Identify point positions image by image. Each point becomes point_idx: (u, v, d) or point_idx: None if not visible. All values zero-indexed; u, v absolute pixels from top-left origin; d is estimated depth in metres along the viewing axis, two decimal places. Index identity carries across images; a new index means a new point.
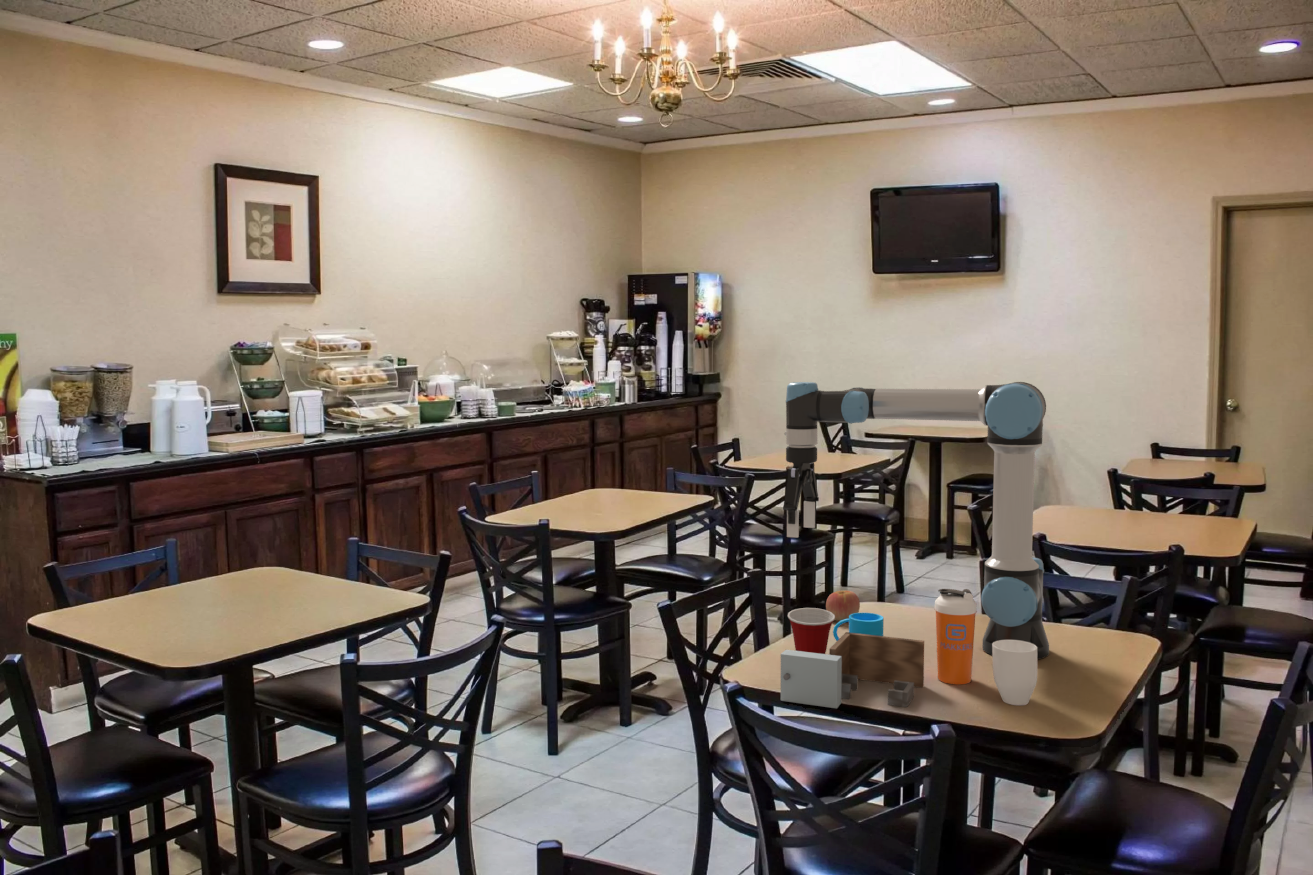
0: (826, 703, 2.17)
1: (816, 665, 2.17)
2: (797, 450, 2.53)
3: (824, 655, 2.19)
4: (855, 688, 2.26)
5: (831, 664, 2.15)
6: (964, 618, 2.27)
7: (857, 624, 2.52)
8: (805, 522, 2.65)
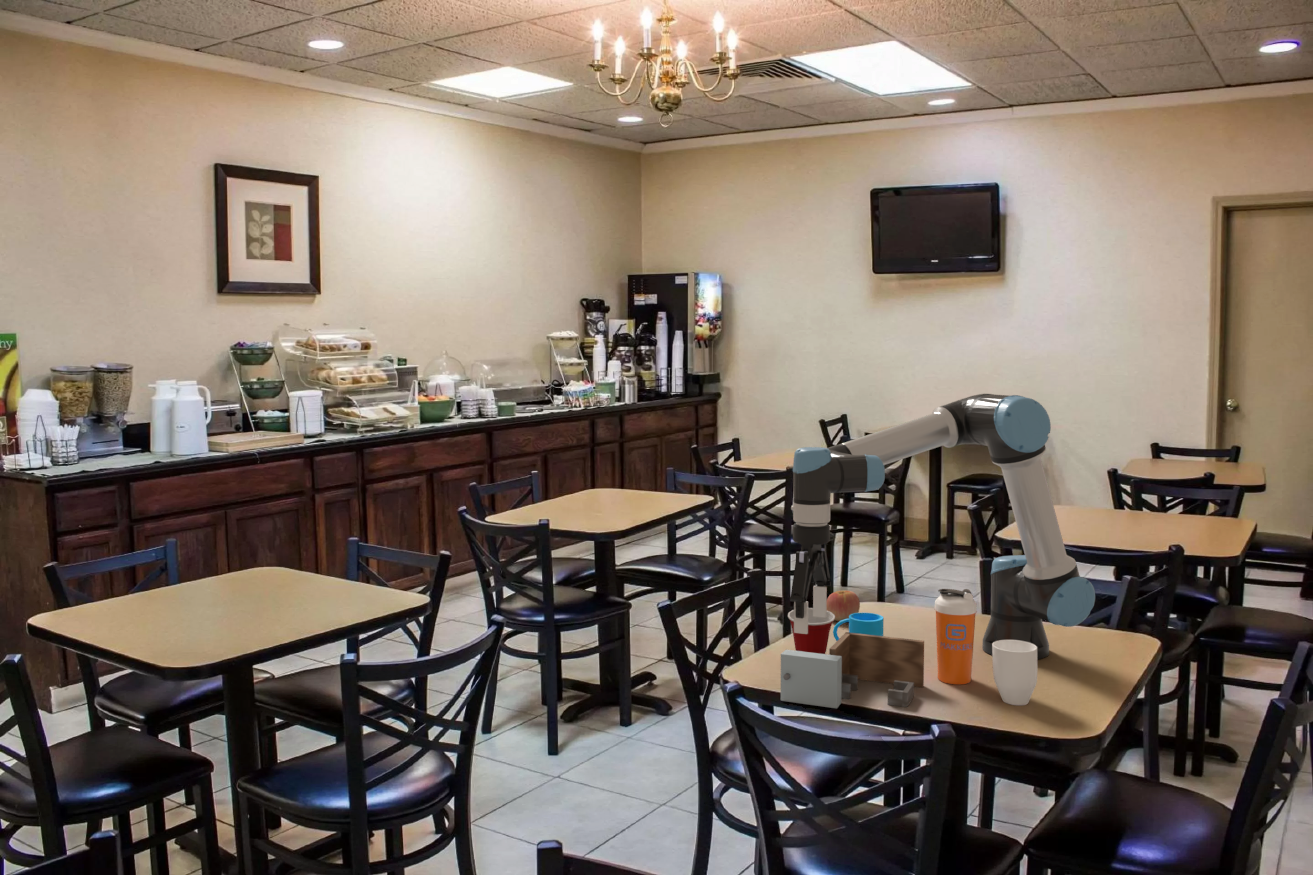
0: (826, 703, 2.17)
1: (817, 665, 2.17)
2: (807, 529, 2.13)
3: (824, 655, 2.18)
4: (855, 688, 2.26)
5: (831, 664, 2.15)
6: (964, 618, 2.27)
7: (857, 624, 2.52)
8: (815, 610, 2.24)
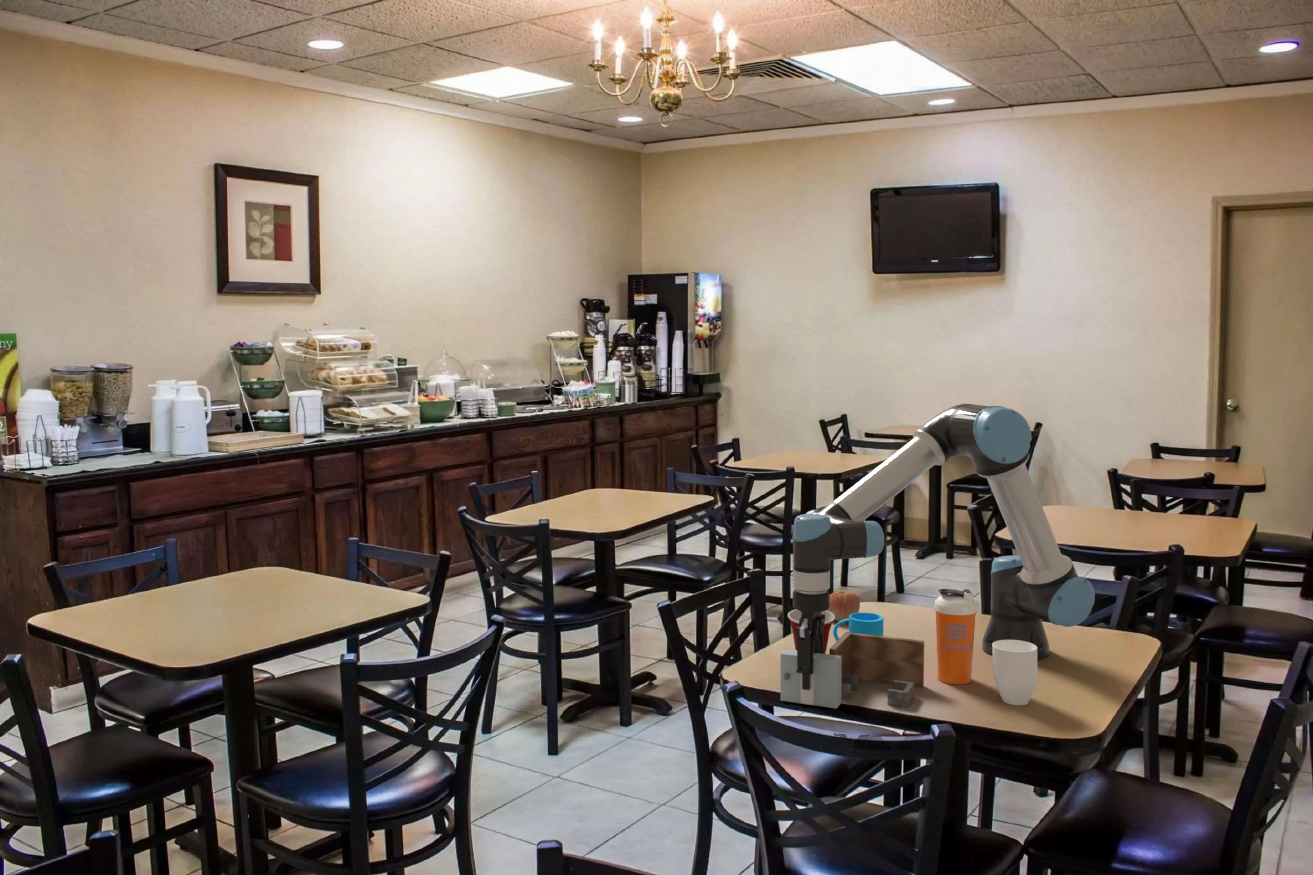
0: (826, 703, 2.17)
1: (816, 664, 2.17)
2: (806, 597, 2.14)
3: (824, 655, 2.18)
4: (855, 688, 2.26)
5: (831, 664, 2.15)
6: (964, 618, 2.27)
7: (857, 624, 2.52)
8: None
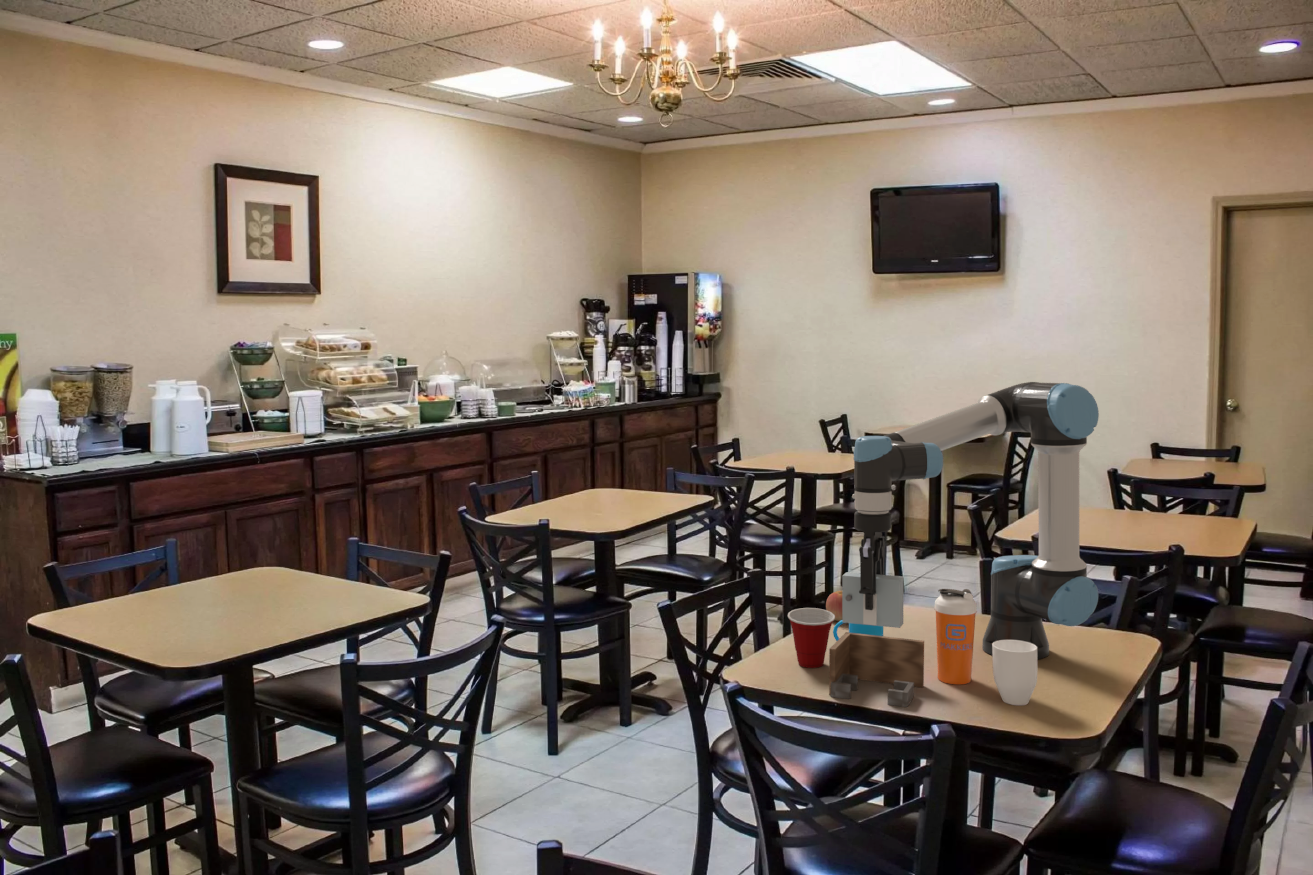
0: (889, 623, 2.18)
1: (879, 585, 2.18)
2: (869, 517, 2.15)
3: (886, 576, 2.20)
4: (855, 688, 2.26)
5: (894, 584, 2.16)
6: (964, 618, 2.27)
7: (857, 624, 2.52)
8: None
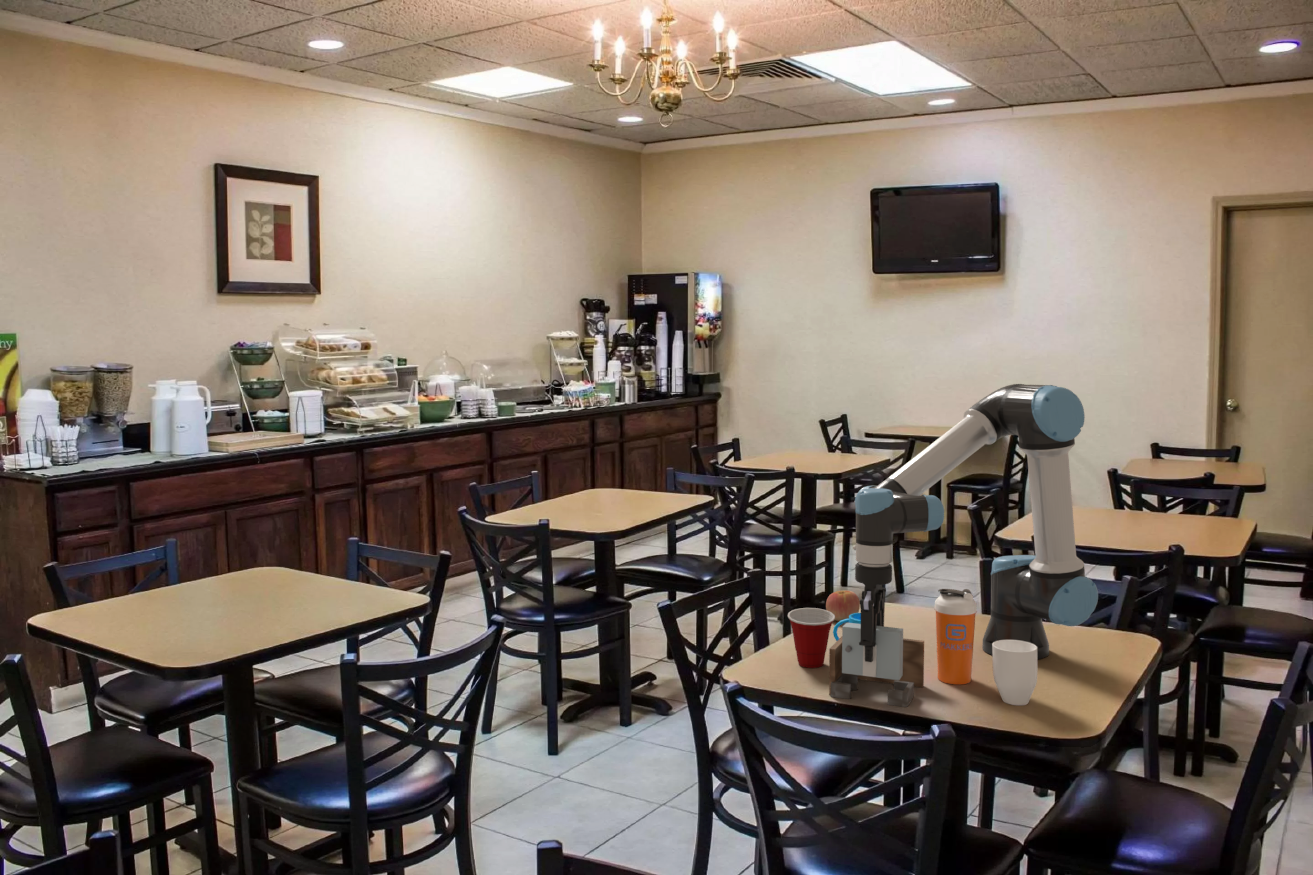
0: (888, 675, 2.19)
1: (879, 637, 2.19)
2: (870, 570, 2.16)
3: (886, 627, 2.21)
4: (855, 688, 2.26)
5: (893, 636, 2.17)
6: (964, 618, 2.27)
7: None
8: None
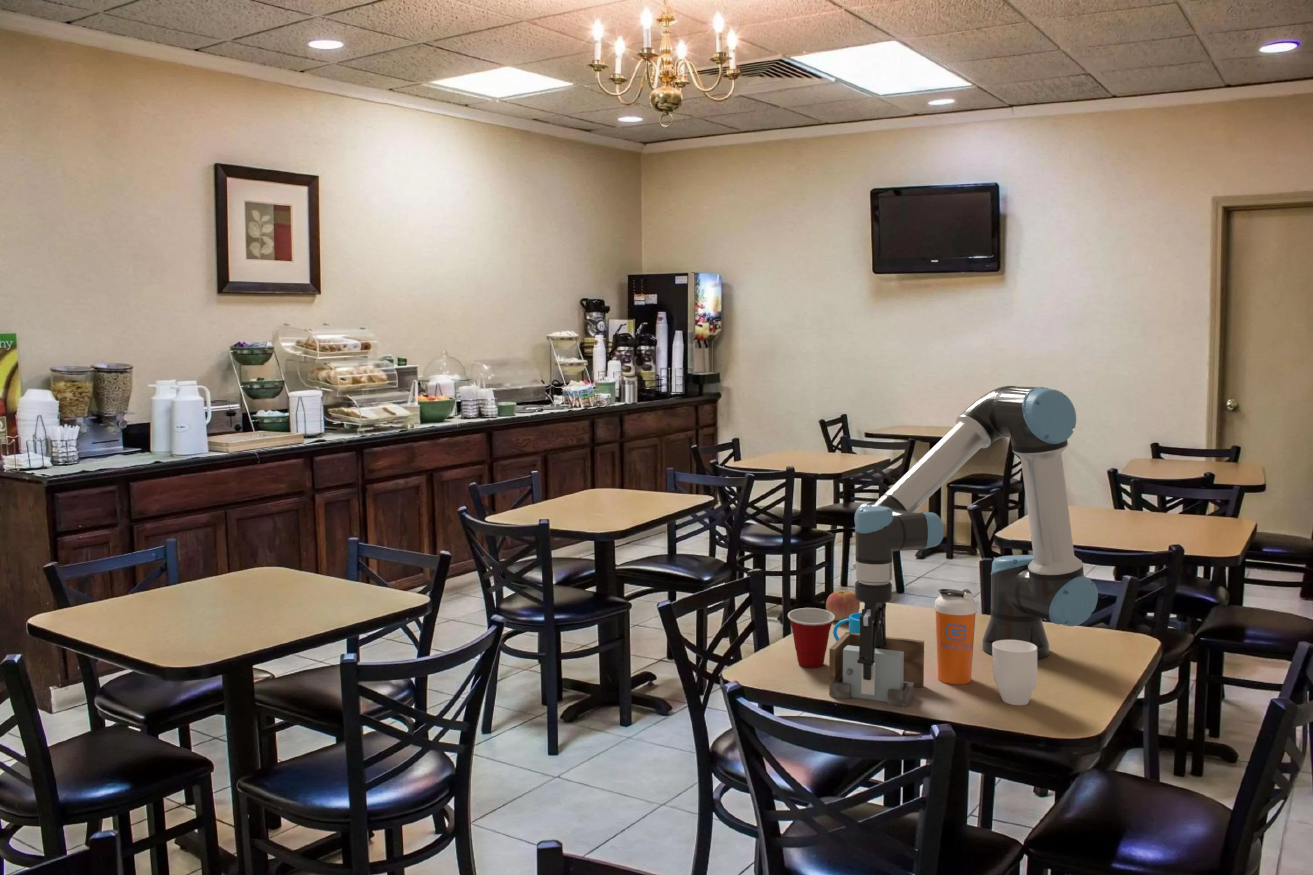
0: None
1: (879, 660, 2.19)
2: (870, 588, 2.17)
3: (886, 650, 2.21)
4: None
5: (894, 660, 2.18)
6: (964, 618, 2.27)
7: (857, 624, 2.52)
8: None
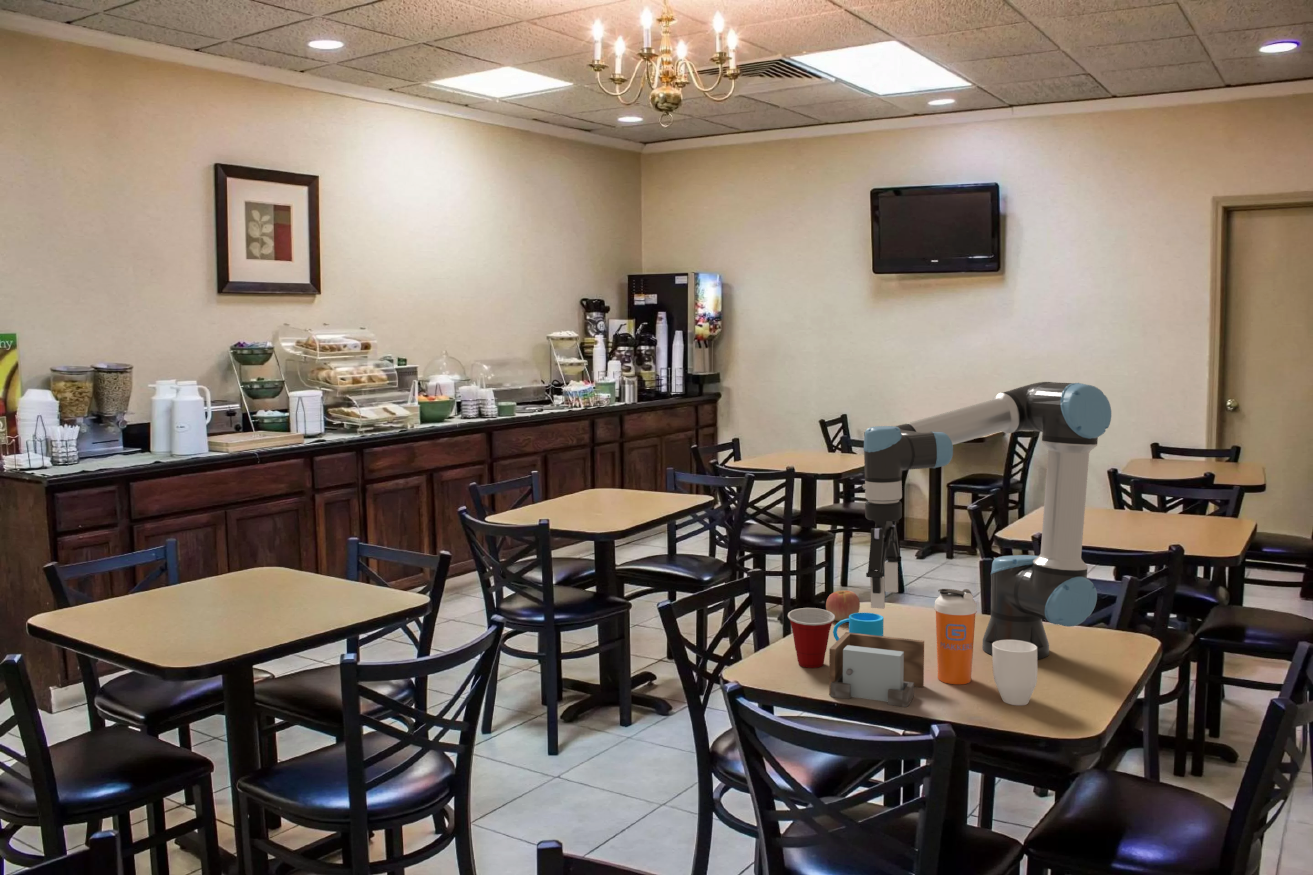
0: None
1: (879, 660, 2.19)
2: (880, 506, 2.18)
3: (886, 650, 2.21)
4: None
5: (894, 660, 2.18)
6: (964, 618, 2.27)
7: (857, 624, 2.52)
8: (886, 586, 2.29)
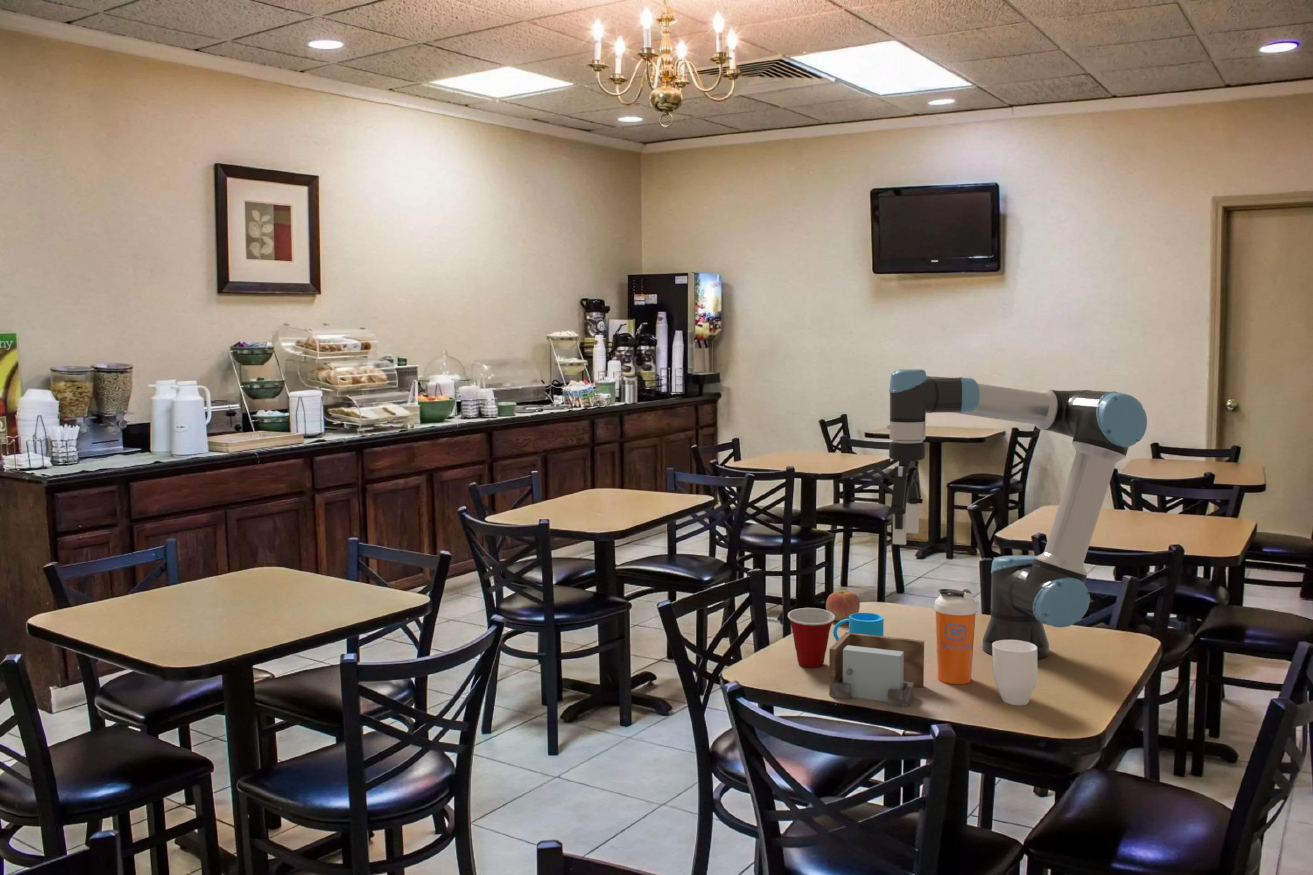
0: None
1: (879, 660, 2.19)
2: (904, 446, 2.24)
3: (886, 650, 2.21)
4: None
5: (894, 660, 2.18)
6: (964, 618, 2.27)
7: (857, 624, 2.52)
8: (907, 527, 2.36)
